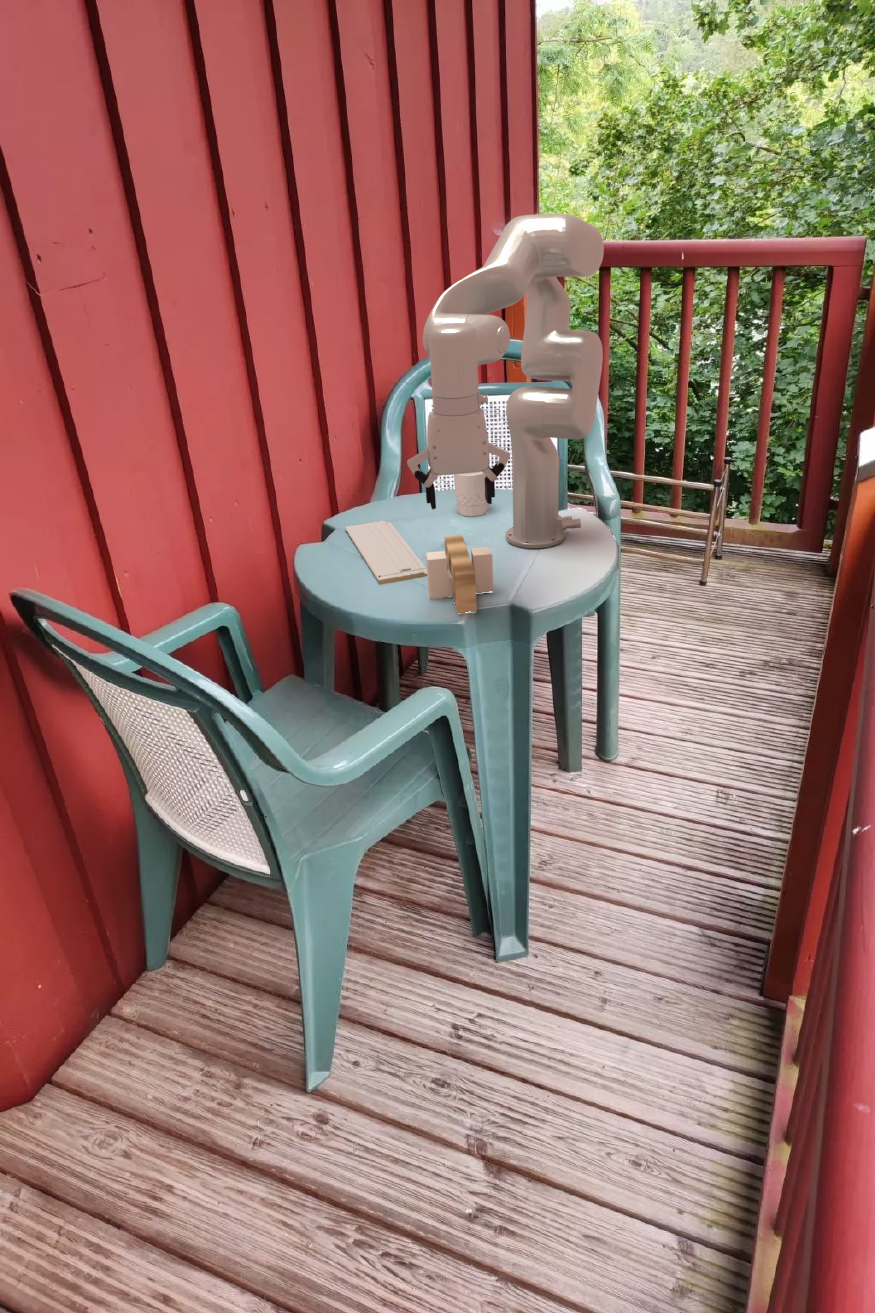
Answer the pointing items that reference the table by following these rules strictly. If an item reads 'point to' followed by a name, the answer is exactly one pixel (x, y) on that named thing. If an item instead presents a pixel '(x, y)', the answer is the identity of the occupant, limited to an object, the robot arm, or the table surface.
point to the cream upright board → (442, 577)
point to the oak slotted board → (461, 574)
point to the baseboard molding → (386, 552)
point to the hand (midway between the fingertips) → (460, 503)
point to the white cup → (470, 493)
